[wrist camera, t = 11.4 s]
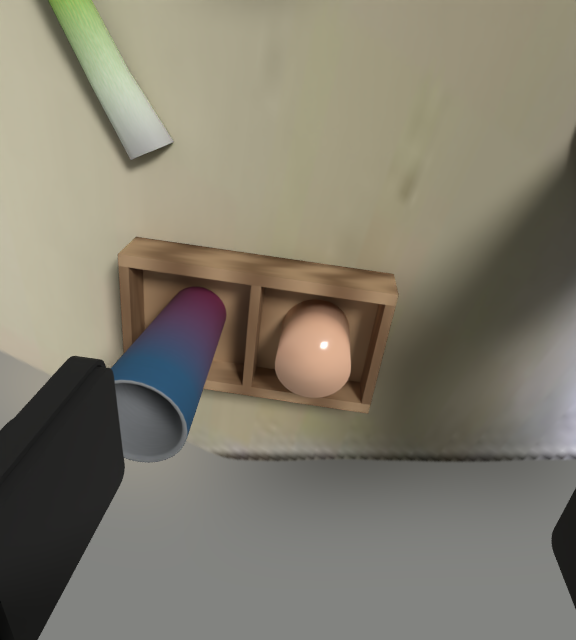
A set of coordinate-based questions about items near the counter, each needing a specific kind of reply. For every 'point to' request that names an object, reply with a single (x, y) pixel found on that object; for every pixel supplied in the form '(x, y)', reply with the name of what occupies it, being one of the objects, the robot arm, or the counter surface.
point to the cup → (167, 375)
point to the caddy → (260, 312)
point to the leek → (111, 78)
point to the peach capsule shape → (314, 349)
